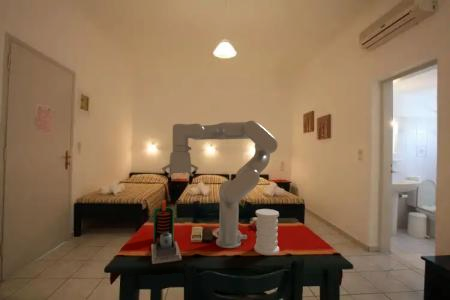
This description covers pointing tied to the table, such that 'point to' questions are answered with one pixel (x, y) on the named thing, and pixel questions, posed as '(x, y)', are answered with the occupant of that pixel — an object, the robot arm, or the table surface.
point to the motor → (163, 221)
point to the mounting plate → (165, 253)
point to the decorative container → (267, 232)
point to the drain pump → (165, 240)
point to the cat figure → (254, 222)
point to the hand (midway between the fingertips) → (180, 184)
